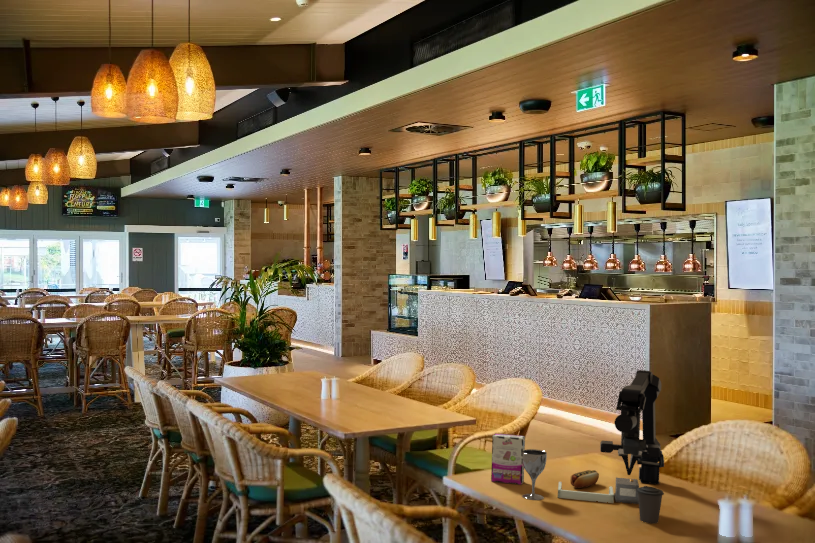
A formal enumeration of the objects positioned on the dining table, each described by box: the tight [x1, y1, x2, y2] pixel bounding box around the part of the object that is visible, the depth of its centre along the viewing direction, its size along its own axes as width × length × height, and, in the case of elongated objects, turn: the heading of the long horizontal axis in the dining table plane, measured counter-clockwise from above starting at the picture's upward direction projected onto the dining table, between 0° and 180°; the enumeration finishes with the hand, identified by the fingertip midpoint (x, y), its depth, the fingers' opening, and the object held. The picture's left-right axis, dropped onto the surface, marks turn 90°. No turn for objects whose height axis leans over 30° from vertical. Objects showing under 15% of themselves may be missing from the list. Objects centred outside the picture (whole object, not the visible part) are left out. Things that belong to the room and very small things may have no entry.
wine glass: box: [521, 448, 548, 501], centre depth 259 cm, size 8×8×15 cm
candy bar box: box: [490, 433, 526, 485], centre depth 277 cm, size 11×5×16 cm, turn 73°
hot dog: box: [570, 469, 600, 489], centre depth 275 cm, size 5×13×5 cm, turn 131°
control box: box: [613, 477, 640, 505], centre depth 260 cm, size 8×9×6 cm
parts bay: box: [557, 481, 615, 504], centre depth 263 cm, size 18×11×2 cm, turn 77°
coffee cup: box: [636, 485, 665, 524], centre depth 238 cm, size 8×8×10 cm
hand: (628, 474), depth 254 cm, fingers closed
